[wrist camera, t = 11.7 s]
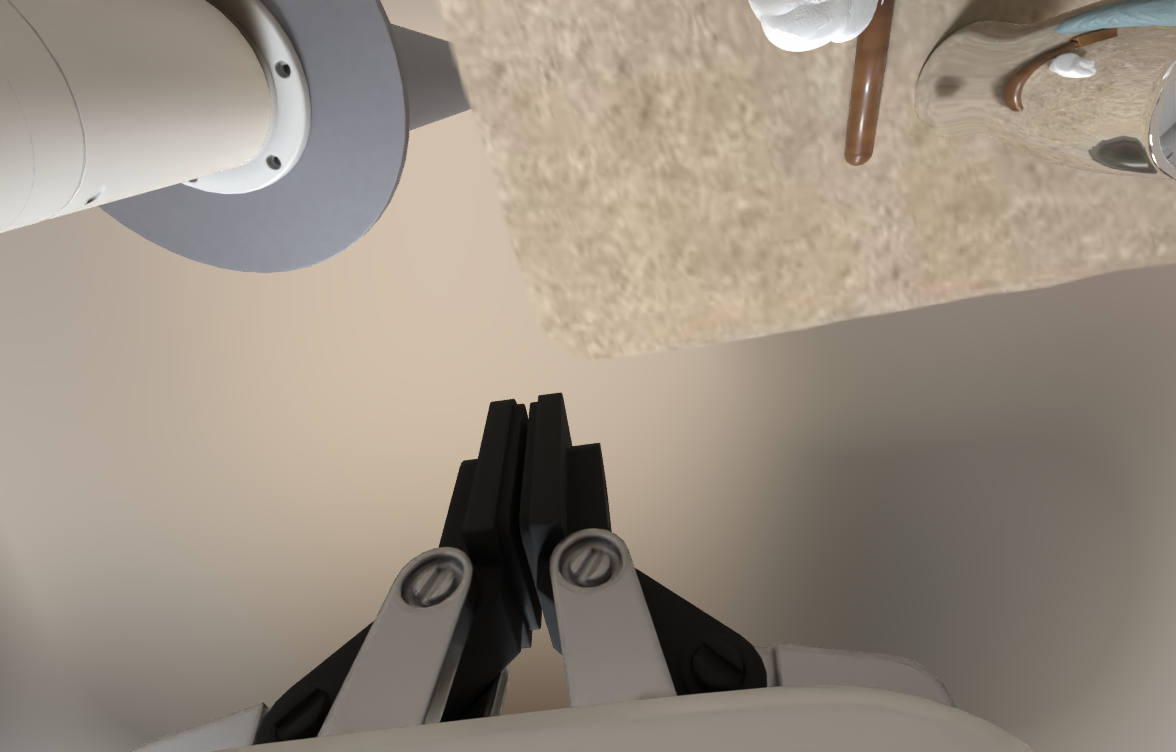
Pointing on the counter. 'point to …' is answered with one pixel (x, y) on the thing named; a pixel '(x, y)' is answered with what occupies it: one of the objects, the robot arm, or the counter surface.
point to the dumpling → (812, 21)
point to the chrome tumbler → (1064, 87)
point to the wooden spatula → (868, 84)
